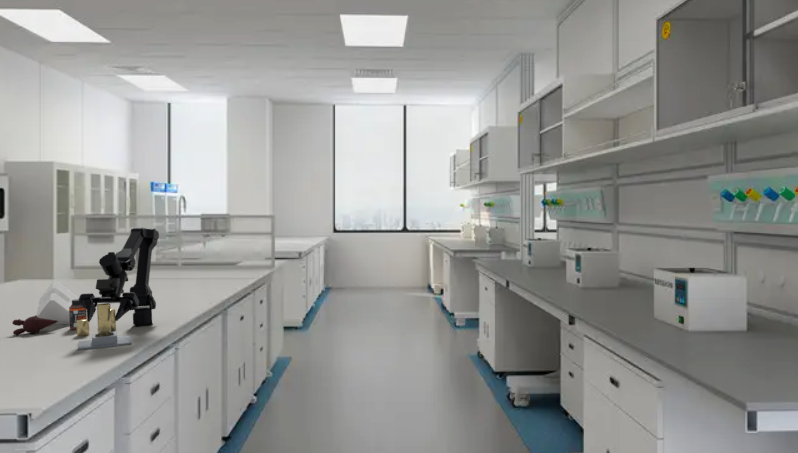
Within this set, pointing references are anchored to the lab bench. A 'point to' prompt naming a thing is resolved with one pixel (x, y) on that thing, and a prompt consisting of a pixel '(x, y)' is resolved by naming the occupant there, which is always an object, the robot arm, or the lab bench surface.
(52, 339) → the lab bench surface
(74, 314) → the supplement bottle
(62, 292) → the slotted wedge
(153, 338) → the lab bench surface
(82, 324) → the pin short
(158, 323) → the lab bench surface
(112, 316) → the pin mid
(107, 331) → the pin long
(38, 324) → the icecream
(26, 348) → the lab bench surface
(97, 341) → the gauge plate
